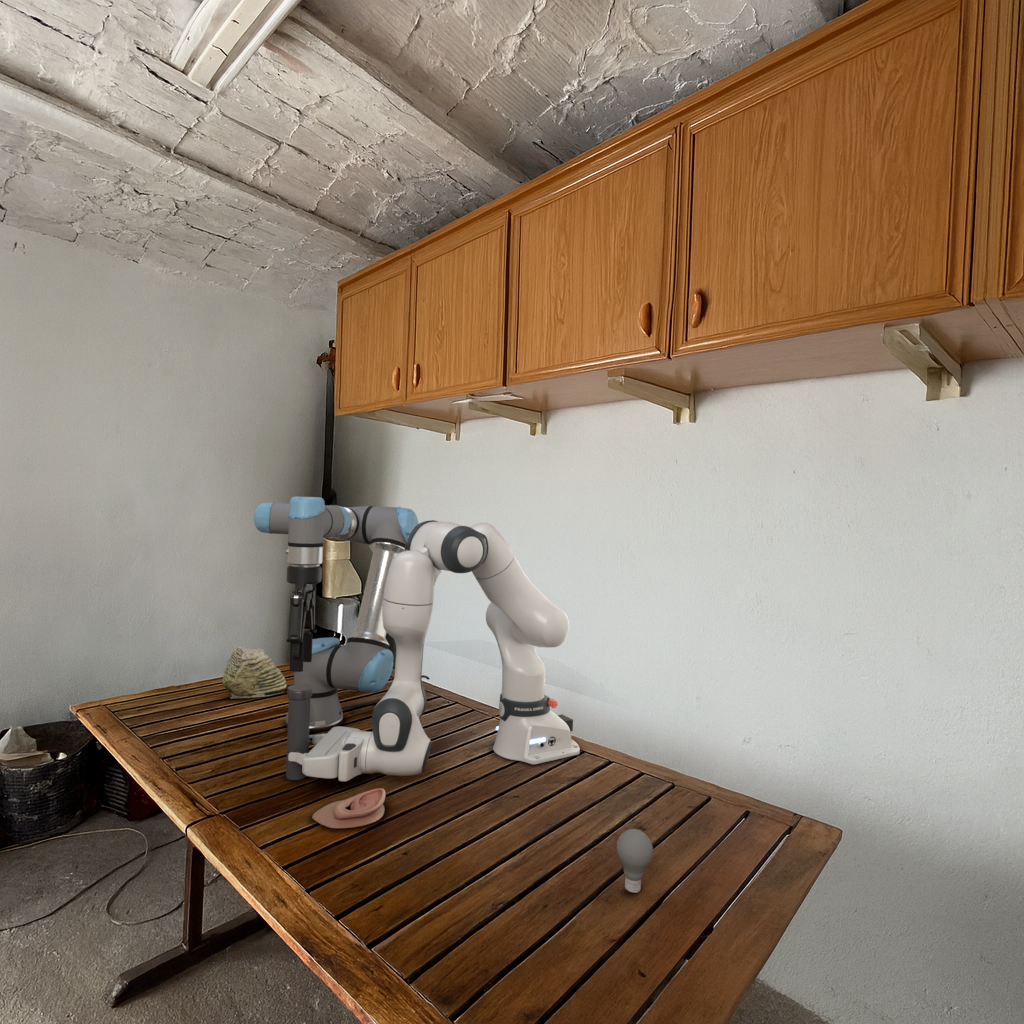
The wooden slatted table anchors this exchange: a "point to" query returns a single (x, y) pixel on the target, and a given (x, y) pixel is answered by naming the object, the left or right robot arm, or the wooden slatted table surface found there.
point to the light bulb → (634, 857)
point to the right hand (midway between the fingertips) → (298, 747)
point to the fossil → (252, 674)
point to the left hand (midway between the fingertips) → (300, 666)
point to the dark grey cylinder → (297, 735)
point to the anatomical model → (353, 810)
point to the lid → (299, 691)
